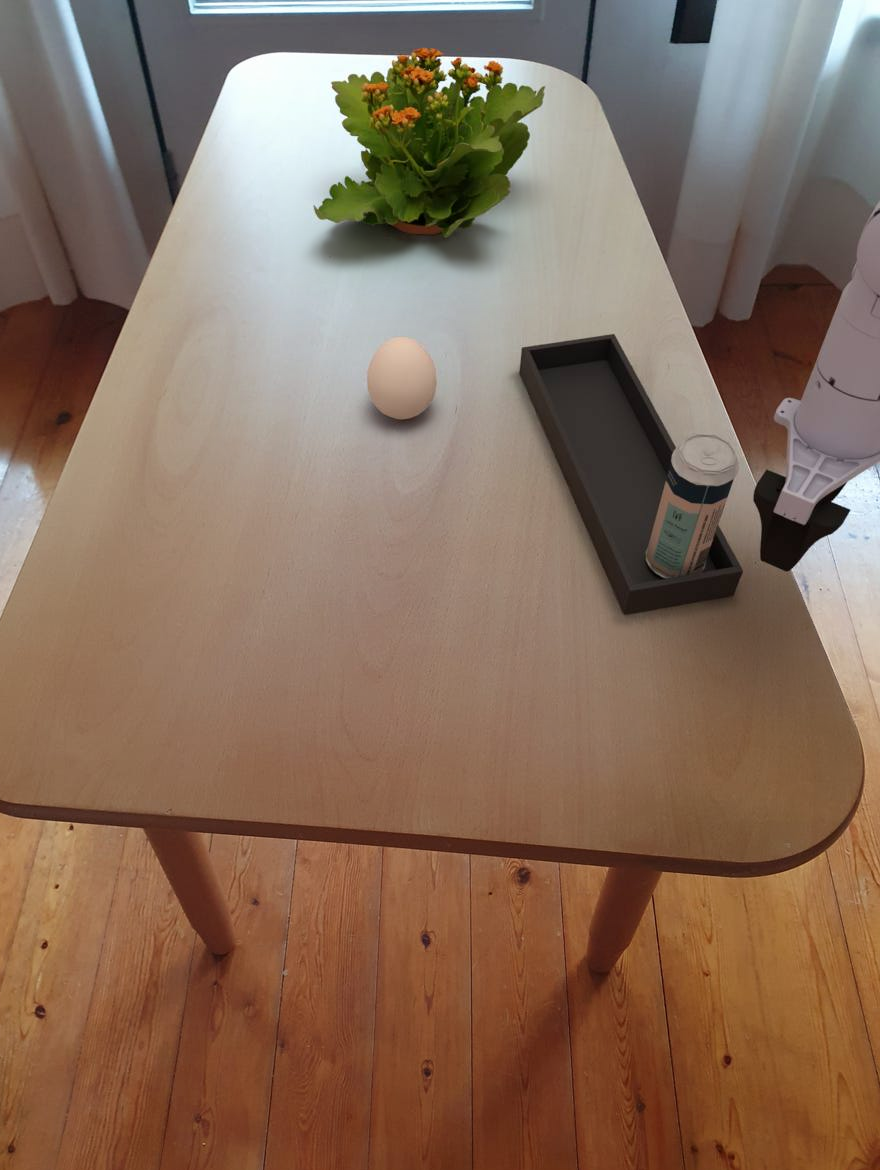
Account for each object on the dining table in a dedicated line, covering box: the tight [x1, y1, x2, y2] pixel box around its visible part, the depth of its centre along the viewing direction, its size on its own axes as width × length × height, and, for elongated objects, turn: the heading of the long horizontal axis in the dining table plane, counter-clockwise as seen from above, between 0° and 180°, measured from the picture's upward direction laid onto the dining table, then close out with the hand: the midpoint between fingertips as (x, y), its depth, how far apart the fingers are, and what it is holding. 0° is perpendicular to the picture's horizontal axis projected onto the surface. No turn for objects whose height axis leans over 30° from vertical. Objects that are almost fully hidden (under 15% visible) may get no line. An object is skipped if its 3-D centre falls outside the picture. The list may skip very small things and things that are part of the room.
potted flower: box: [312, 47, 546, 239], centre depth 106 cm, size 25×24×18 cm
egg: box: [366, 336, 438, 421], centre depth 89 cm, size 6×6×8 cm
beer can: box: [646, 433, 740, 579], centre depth 75 cm, size 5×5×12 cm
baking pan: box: [518, 333, 744, 616], centre depth 85 cm, size 31×9×3 cm, turn 11°
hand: (796, 528), depth 68 cm, fingers open, 7 cm apart
